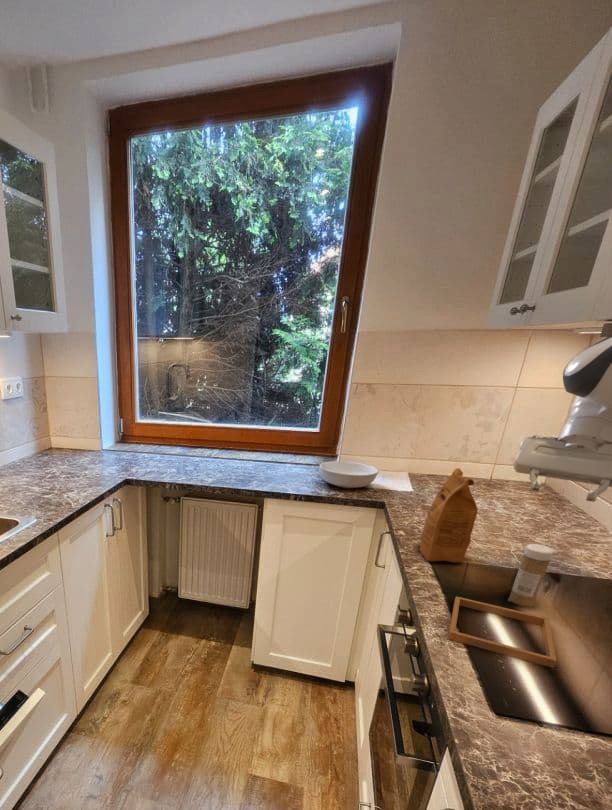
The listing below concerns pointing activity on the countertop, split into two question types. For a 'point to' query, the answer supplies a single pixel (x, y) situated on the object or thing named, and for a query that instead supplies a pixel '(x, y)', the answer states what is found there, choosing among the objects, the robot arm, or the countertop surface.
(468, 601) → the wooden frame
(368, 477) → the serving bowl
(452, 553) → the coffee package
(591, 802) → the countertop surface
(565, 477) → the robot arm
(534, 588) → the sprinkles bottle
